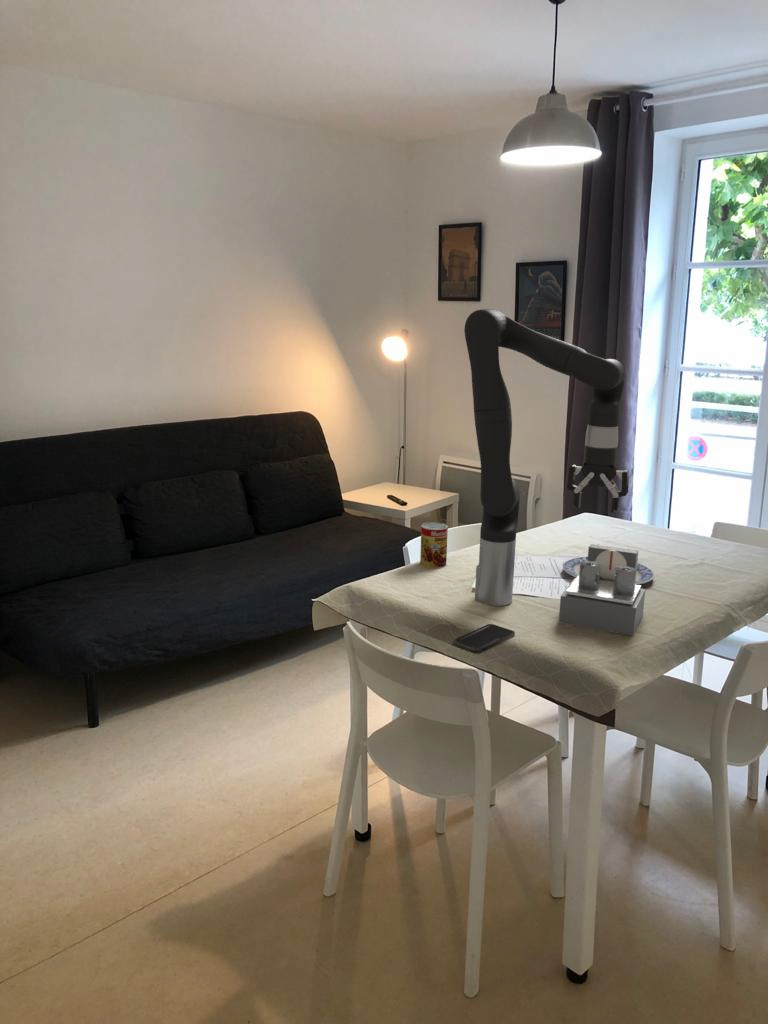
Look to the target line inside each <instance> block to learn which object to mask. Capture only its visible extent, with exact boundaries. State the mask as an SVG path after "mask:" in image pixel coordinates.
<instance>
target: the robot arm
mask: <svg viewBox="0 0 768 1024" xmlns="http://www.w3.org/2000/svg"><path fill="white" fill-rule="evenodd" d="M464 337H465V338H464V339H465V343H466V347H467V353H468V359H469V365H470V370H471V371H470V372H471V373H470V374H471V388H472V389H471V390H472V399H473V400H472V401H473V402H472V403H473V414H474V415H473V416H474V426H475V432H476V440H477V447H478V452H479V453H478V454H479V459H480V502H481V505H482V507H483V512H482V519H481V525H480V533H479V535H480V538H479V556H478V564H477V565H476V568H475V583H474V586H475V589H474V601H475V602H480V604H483V605H487V606H494V607H503V606H507V605H510V604H512V602H513V595H514V594H513V593H514V591H513V590H514V580H515V579H514V577H515V574H514V573H515V563H516V562H515V561H516V558H515V557H516V543H517V542H516V541H517V530H518V523H519V511H520V498H521V497H520V495H521V493H520V492H521V491H520V489H519V485H518V483H517V482H516V481H515V479H513V478H512V472H511V460H510V459H511V458H510V457H511V447H512V433H513V430H512V429H513V417H512V407H511V406H512V405H511V399H510V395H509V391H508V388H507V385H506V383H505V380H504V377H503V374H502V371H501V365H500V354H499V353H500V352H499V351H500V350H499V349H500V348H504V349H508V350H512V351H514V352H518V353H520V354H522V355H524V356H526V357H528V358H530V359H531V360H534V361H535V362H536V363H538V364H540V365H542V366H543V367H546V368H548V369H549V370H553V371H555V372H558V373H560V374H564V375H566V376H568V377H571V378H574V379H576V380H577V381H579V382H581V383H583V384H585V385H587V386H589V387H591V388H593V394H592V395H593V397H592V400H591V402H590V403H589V408H588V417H587V428H586V432H585V440H584V441H585V442H584V454H583V455H584V456H583V464H582V466H580V465H579V466H578V465H576V464H572V465H570V466H569V469H568V470H569V471H568V475H567V476H568V478H567V485H566V489H567V490H568V491H571V492H573V494H574V495H573V506H575V509H580V508H581V505H582V503H581V502H582V490H583V489H584V488H585V487H586V486H587V485H588V484H589V485H590V486H592V487H596V486H598V487H601V488H604V487H606V489H608V491H610V493H611V494H612V497H611V510H610V513H612V514H613V513H615V512H616V511H618V510H619V508H620V498H621V497H626V496H627V495H628V494H629V487H630V486H629V483H630V481H629V479H630V477H629V476H630V472H629V470H628V469H625V470H617V465H616V464H617V453H618V444H619V420H620V404H621V400H622V395H623V391H624V390H623V389H624V384H625V376H626V375H625V369H624V366H623V364H622V363H621V362H620V361H618V360H617V359H614V358H606V359H605V358H603V357H599V356H596V355H594V354H592V353H589V352H587V351H586V350H585V349H583V348H582V347H579V346H577V345H574V344H572V343H569V342H565V341H563V340H561V339H558V338H555V337H552V336H550V335H546V334H543V333H541V332H538V331H536V330H533V329H532V328H529V327H527V326H525V325H523V324H521V323H519V322H518V321H515V320H513V318H511V317H509V316H507V315H506V314H504V313H502V312H501V311H499V310H498V309H494V308H484V309H483V308H482V309H477V310H474V311H473V312H471V313H470V314H469V316H468V317H466V320H465V324H464ZM580 472H581V474H582V476H583V478H584V479H583V480H582V481H581V482H580V483H579V484H578V485H575V481H576V476H577V475H578V474H579V473H580ZM616 476H618V478H619V480H620V481H621V490H619V488H618V486H617V484H616V483H615V481H614V479H615V477H616Z"/></svg>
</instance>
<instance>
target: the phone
mask: <svg viewBox="0 0 768 1024" xmlns="http://www.w3.org/2000/svg"><path fill="white" fill-rule="evenodd" d="M515 635H516V632H515V630H512V629H509V628H506V627H502V626H499V625H496V624H493V623H487V624H485V625H483V626H481V627H479V628H476V629H474V630H472V631H470V632H468V633H466V634H464V635H462V636H459V637H457V638H455V639H453V644H454V645H455V646H457V647H460V648H463V649H464V650H465V649H466V650H468V651H471V652H473V653H478V654H479V653H482V652H484V651H487V650H489V649H491V648H494V647H495V646H497V645H499V644H501V643H503V642H505V641H507V640H510V639H511V638H513V637H515Z"/></svg>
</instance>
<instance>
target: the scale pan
mask: <svg viewBox="0 0 768 1024" xmlns="http://www.w3.org/2000/svg"><path fill="white" fill-rule="evenodd" d="M572 581H573V580H572ZM572 581H571V582H572ZM569 585H570V584H569ZM569 585H568V586H569ZM578 585H579V576H577V577H576V579H575V580H574V581H573V582H572V584H571V585H570V586H569V588H568V589H567V590H566V589H565V590H566V594H570V595H576V596H582V597H588V598H594V599H600V600H606V601H612V602H619V603H625V604H631V605H633V603H634V601H635V599H636V597H637V595H638V593H639V591H640V589H642V584H639V585H635V590H634V595H632V596H621V595H617V594H615V593H614V592H613V586H614V581H609V580H602V579H600V581H599V589H597V590H584V589H581V588H579V586H578Z"/></svg>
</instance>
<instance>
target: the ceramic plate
mask: <svg viewBox="0 0 768 1024" xmlns="http://www.w3.org/2000/svg"><path fill="white" fill-rule="evenodd" d="M582 561H588V556H582V557H581V556H580V557H574V558H572V559H568V560H566V561H565V562H564V563H563V565H562V569H563V571H564V572H565V573H566V574H568V575H569V576H571V577H574V578H576V577H577V576H579V571H580V562H582ZM654 578H655V572H654V571H653V569H651V568H649V567H648V566H646V565H644V564H642V563H639V562H637V571H636V581H635V585H642V584H646V583H650V582H651V581H652V580H653V579H654Z"/></svg>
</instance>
